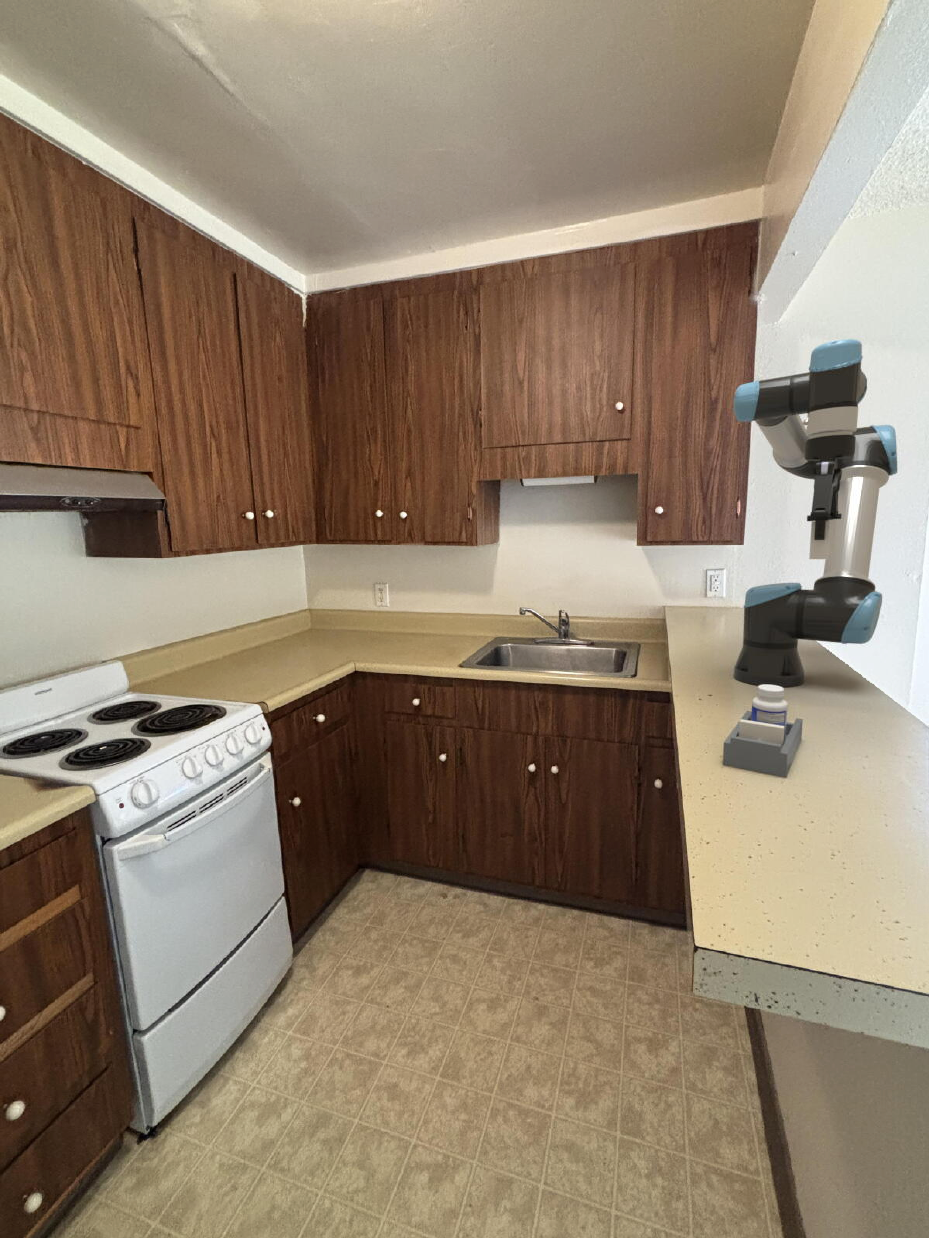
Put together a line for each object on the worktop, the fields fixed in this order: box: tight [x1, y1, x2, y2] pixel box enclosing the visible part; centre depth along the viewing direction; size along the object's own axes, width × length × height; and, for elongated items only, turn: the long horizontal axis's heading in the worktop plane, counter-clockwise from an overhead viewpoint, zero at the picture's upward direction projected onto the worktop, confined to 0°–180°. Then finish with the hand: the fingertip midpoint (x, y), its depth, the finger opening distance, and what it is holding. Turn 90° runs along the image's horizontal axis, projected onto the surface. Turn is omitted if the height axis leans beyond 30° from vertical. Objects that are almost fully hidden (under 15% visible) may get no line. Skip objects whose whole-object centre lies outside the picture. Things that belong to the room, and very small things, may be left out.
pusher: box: [739, 718, 785, 749], centre depth 91 cm, size 5×6×5 cm
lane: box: [722, 710, 804, 778], centre depth 95 cm, size 18×9×5 cm, turn 143°
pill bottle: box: [751, 684, 788, 743], centre depth 97 cm, size 5×5×10 cm
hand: (822, 556), depth 103 cm, fingers open, 13 cm apart
